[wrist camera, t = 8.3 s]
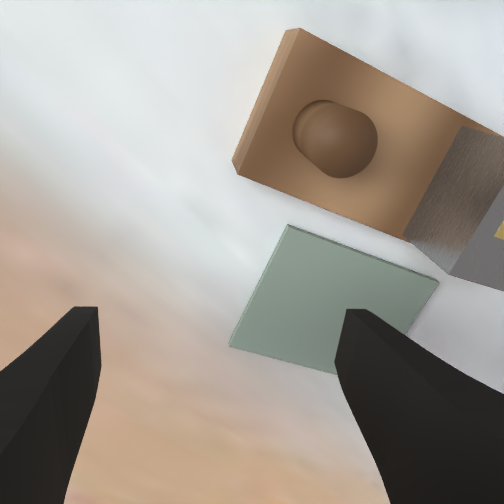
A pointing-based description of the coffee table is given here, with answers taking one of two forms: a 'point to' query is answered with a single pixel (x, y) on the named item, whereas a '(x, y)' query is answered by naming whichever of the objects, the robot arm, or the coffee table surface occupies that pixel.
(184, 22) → the coffee table surface
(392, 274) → the mat
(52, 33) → the coffee table surface
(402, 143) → the plane body
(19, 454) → the robot arm
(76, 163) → the coffee table surface
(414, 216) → the grey rectangular block
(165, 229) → the coffee table surface
